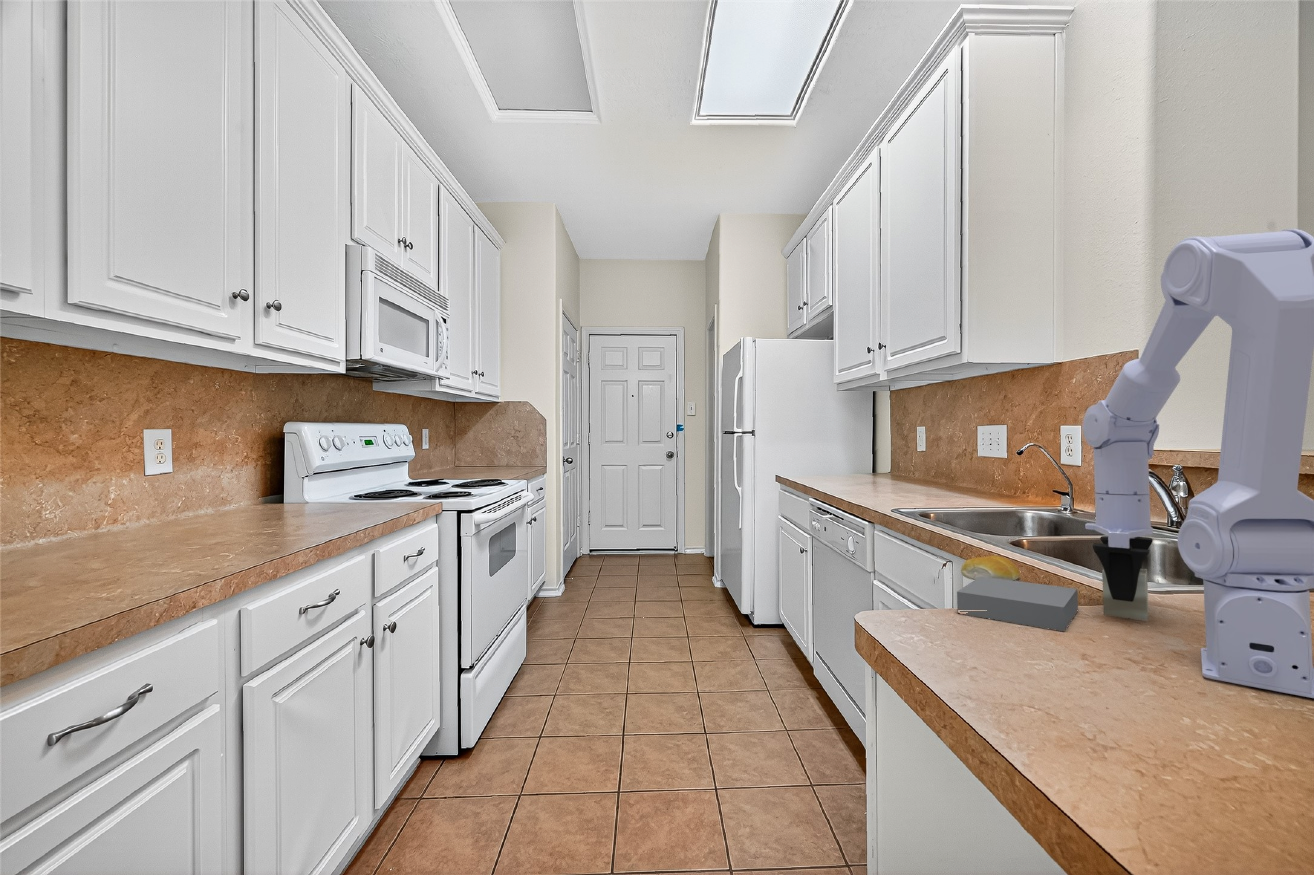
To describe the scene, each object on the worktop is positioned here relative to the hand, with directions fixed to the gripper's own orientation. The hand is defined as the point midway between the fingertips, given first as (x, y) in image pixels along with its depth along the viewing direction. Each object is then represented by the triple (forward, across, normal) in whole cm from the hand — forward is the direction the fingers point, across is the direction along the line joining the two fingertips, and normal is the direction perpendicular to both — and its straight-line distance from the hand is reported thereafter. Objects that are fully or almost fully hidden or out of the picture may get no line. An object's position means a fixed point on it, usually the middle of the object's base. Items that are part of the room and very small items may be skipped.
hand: (1125, 594), depth 75 cm
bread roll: (+3, -13, -19) cm, 23 cm away
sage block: (+3, 0, 0) cm, 3 cm away
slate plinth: (+3, +8, -11) cm, 14 cm away
